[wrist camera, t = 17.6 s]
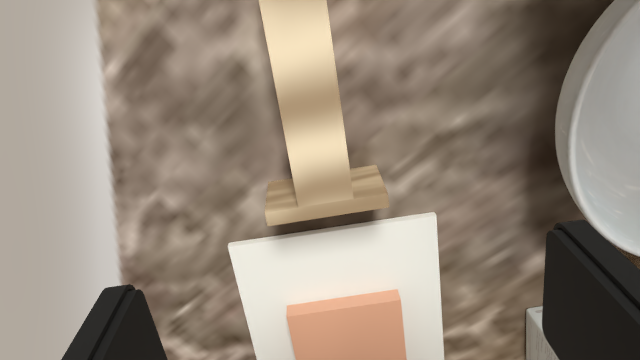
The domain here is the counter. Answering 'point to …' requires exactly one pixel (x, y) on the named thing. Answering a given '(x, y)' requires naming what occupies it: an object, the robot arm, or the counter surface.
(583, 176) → the serving bowl
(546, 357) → the supplement box
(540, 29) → the counter surface
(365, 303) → the tile
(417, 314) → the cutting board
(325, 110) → the tall beige plank
